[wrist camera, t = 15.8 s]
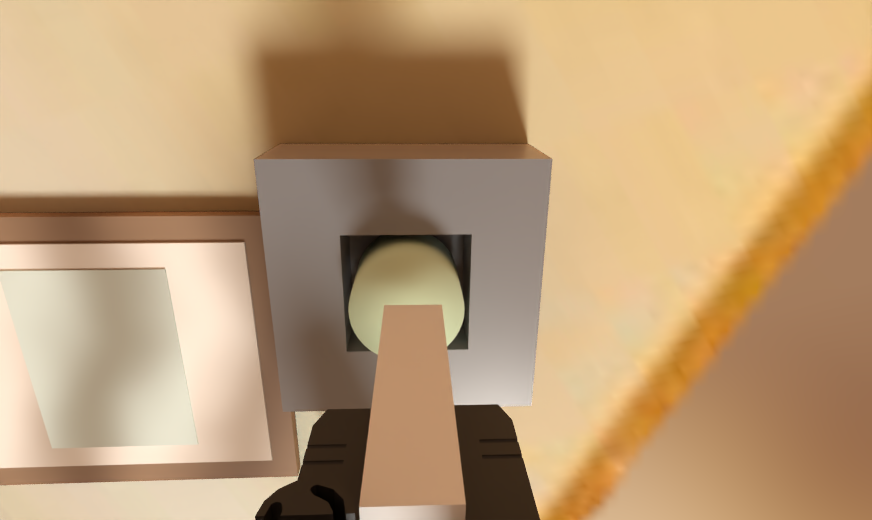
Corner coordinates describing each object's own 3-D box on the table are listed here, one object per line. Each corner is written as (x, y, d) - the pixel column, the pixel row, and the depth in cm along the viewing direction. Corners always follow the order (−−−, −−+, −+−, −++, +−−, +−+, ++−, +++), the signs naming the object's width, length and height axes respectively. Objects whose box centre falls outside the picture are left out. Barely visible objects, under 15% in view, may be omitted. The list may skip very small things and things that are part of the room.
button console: (301, 361, 22) (282, 411, 18) (280, 143, 19) (254, 159, 15) (513, 357, 22) (531, 405, 19) (528, 143, 19) (552, 159, 16)
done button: (359, 322, 19) (351, 362, 17) (354, 229, 18) (345, 256, 15) (455, 321, 19) (463, 360, 17) (457, 228, 18) (465, 256, 15)
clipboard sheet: (-76, 477, 23) (-95, 493, 22) (-188, 213, 19) (-216, 220, 18) (300, 466, 24) (296, 481, 23) (273, 211, 19) (267, 217, 19)
